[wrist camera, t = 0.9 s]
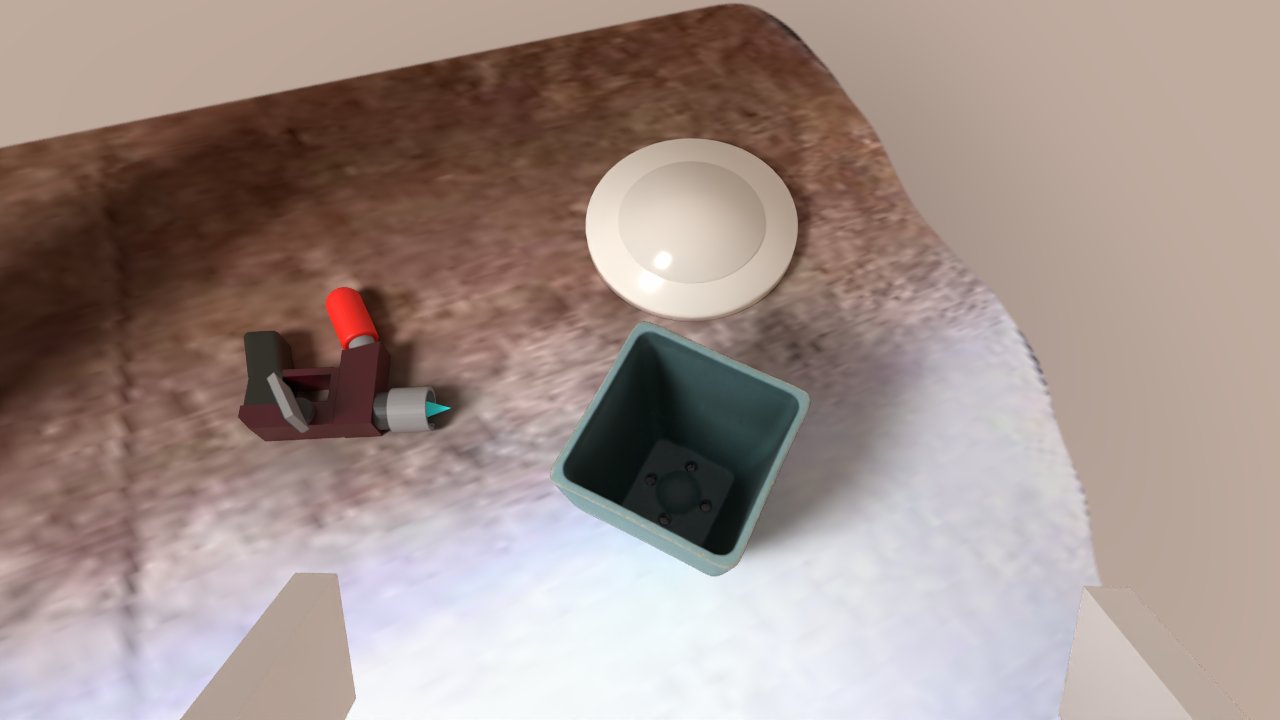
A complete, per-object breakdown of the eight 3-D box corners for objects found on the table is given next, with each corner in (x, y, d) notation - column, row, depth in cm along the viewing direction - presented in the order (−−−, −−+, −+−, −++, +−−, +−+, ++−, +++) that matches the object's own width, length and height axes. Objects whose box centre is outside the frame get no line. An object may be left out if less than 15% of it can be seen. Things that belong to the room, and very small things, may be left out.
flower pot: (788, 459, 43) (816, 392, 35) (720, 609, 40) (734, 573, 32) (644, 392, 45) (639, 315, 37) (568, 530, 42) (544, 478, 34)
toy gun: (454, 444, 45) (432, 411, 40) (240, 455, 45) (195, 423, 40) (463, 294, 49) (444, 250, 45) (268, 304, 49) (230, 261, 45)
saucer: (546, 261, 49) (544, 251, 48) (655, 121, 54) (655, 108, 53) (732, 358, 46) (733, 349, 45) (831, 199, 51) (834, 188, 50)
